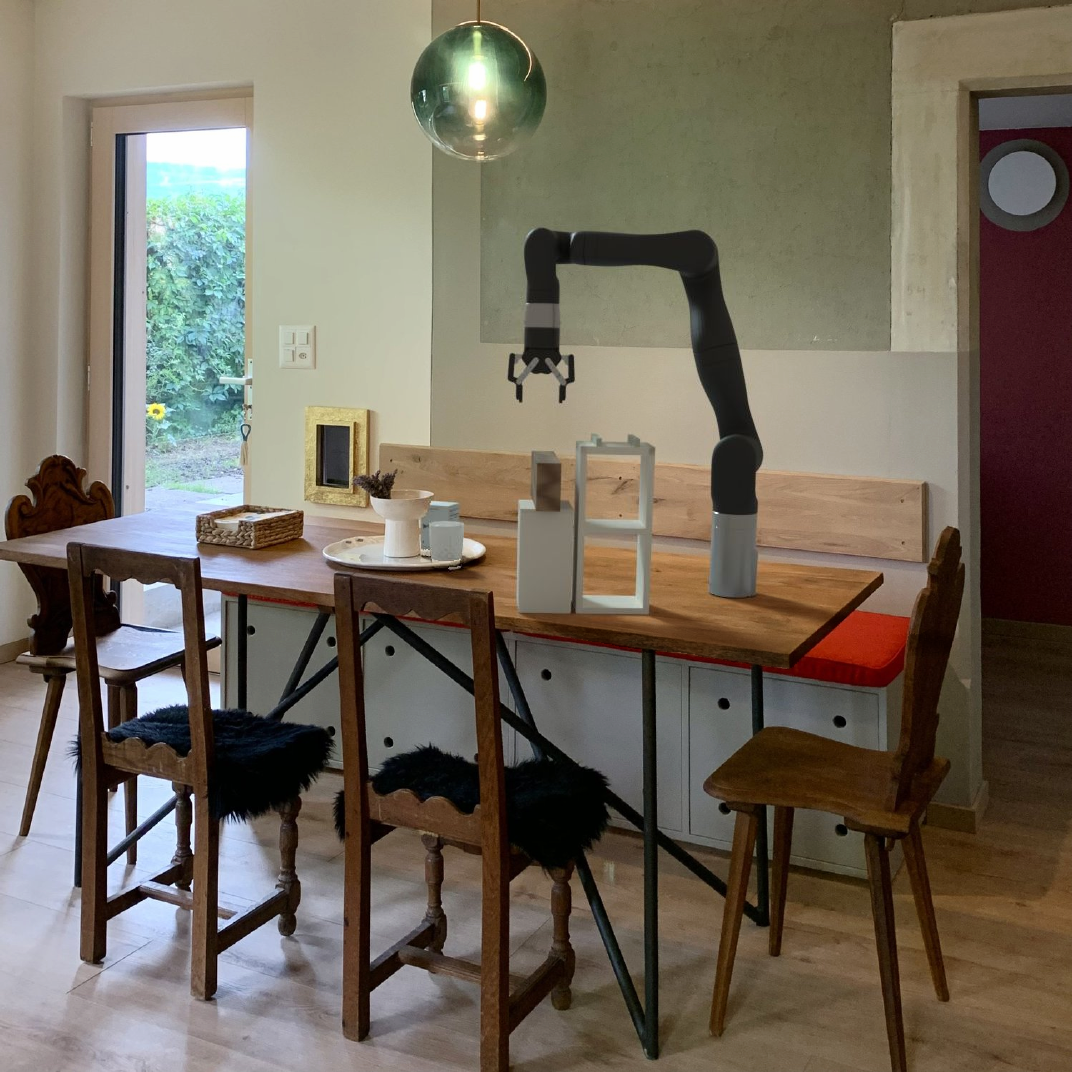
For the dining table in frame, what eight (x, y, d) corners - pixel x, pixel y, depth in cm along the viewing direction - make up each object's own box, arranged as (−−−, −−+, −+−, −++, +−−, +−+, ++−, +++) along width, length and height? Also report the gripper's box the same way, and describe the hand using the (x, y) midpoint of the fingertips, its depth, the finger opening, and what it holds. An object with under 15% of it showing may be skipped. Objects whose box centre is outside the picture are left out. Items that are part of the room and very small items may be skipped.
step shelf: (639, 599, 242) (646, 434, 236) (648, 614, 229) (655, 439, 223) (516, 598, 240) (519, 431, 235) (518, 612, 228) (522, 436, 222)
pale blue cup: (432, 571, 266) (432, 526, 265) (425, 564, 274) (426, 521, 272) (466, 570, 269) (467, 526, 267) (459, 563, 276) (460, 520, 274)
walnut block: (552, 494, 246) (553, 451, 244) (560, 511, 222) (561, 463, 220) (530, 494, 245) (531, 450, 244) (536, 511, 222) (537, 462, 220)
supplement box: (419, 556, 284) (419, 503, 281) (431, 551, 291) (431, 500, 288) (448, 559, 281) (448, 505, 279) (459, 553, 288) (460, 501, 286)
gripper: (574, 326, 257) (572, 402, 259) (508, 325, 256) (506, 401, 259) (577, 326, 249) (575, 404, 252) (508, 324, 249) (507, 403, 251)
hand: (540, 402), depth 255 cm, fingers open, 8 cm apart
